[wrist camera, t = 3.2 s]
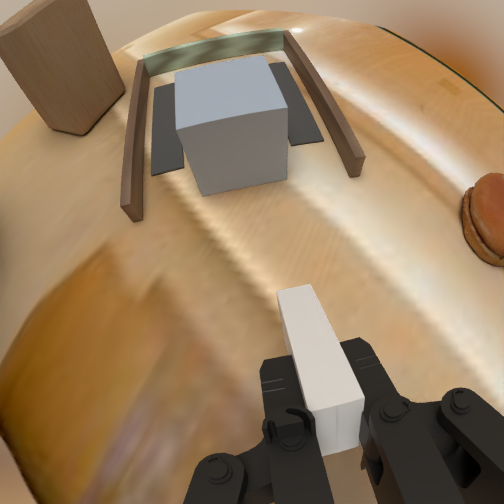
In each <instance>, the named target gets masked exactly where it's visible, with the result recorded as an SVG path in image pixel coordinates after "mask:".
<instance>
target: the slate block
mask: <svg viewBox="0 0 504 504" xmlns="http://www.w3.org/2000/svg"><path fill="white" fill-rule="evenodd" d="M175 116H176V131H177V134H178V136H179V139H180V141H181V144H182V147H183V149H184V152H185V154H186V157H187V159H188V162H189V164H190V167H191V169H192V172H193V174H194V177H195V179H196V182H197V184H198V187H199V189H200V192H201V194H202V197H203V196H208V195H212V194H217V193H222V192H226V191H231V190H236V189H240V188H245V187H250V186H255V185H260V184H266V183H271V182H276V181H281V180H287V143H288V107H287V104H286V102H285V100H284V98H283V95H282V93H281V91H280V89H279V86H278V84H277V82H276V80H275V78H274V76H273V74H272V71H271V69H270V67H269V65H268V63H267V61H266V59H265V57H264V55H262V56H255V57H248V58H242V59H236V60H230V61H225V62H220V63H215V64H210V65H205V66H201V67H196V68H192V69H188V70H184V71H180V72H176V73H175Z"/></svg>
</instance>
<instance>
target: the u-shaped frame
mask: <svg viewBox="0 0 504 504" xmlns="http://www.w3.org/2000/svg"><path fill="white" fill-rule="evenodd" d="M277 50H284V51H285V53H286V54H287V56H288V58H289V59H290V61H291V63H292V64H293V66H294V68H295V70H296V71H297V73H298V75H299V77H300V78H301V80H302V82H303V84H304V85H305V87H306V89H307V91H308V93H309V95H310V96H311V98H312V100H313V102H314V104H315V106H316V108H317V110H318V112H319V113H320V115H321V117H322V119H323V121H324V123H325V125H326V127H327V129H328V131H329V133H330V135H331V138H332V140H333V142H334V144H335V146H336V148H337V150H338V152H339V154H340V157H341V159H342V161H343V163H344V165H345V168H346V170H347V172H348V175H349V177H356V176H359V175H360V172H361V169H362V166H363V163H364V160H365V157H366V156H365V154H364V152H363V150H362V148H361V146H360V144H359V142H358V140H357V139H356V137H355V135H354V133H353V131H352V129H351V127H350V126H349V124H348V122H347V120H346V118H345V117H344V115H343V113H342V111H341V110H340V108H339V106H338V105H337V103H336V101H335V100H334V98H333V96H332V95H331V93H330V91H329V90H328V88H327V86H326V85H325V83H324V82H323V80H322V79H321V77H320V75H319V74H318V72H317V71H316V69H315V68H314V66H313V65H312V63H311V62H310V60H309V59H308V57H307V56H306V54H305V53H304V52H303V50H302V49H301V47H300V46H299V44H298V43H297V42H296V40H295V39H294V38H293V36H292V35H291V33H290V32H289V31H288V30H286V31H283V30H282V28H277V29H267V30H259V31H251V32H244V33H237V34H231V35H225V36H220V37H215V38H210V39H205V40H200V41H196V42H192V43H187V44H183V45H179V46H176V47H172V48H168V49H165V50H161V51H158V52H154V53H151V54H148V55H145V56H143V59H141V60H138V62H137V67H136V72H135V78H134V83H133V89H132V95H131V101H130V107H129V114H128V122H127V129H126V138H125V147H124V157H123V168H122V181H121V198H120V207H121V208H122V209H123V210H124V212H125V213H126V214H127V215H128V216H129V218H130V219H131V220H132V221H133V222H136V221H140V220H143V159H144V138H145V122H146V109H147V98H148V88H149V78H150V77H151V76H154V75H158V74H161V73H164V72H168V71H172V70H175V69H179V68H183V67H187V66H191V65H195V64H200V63H204V62H209V61H214V60H219V59H224V58H229V57H235V56H241V55H247V54H254V53H261V52H269V51H277Z"/></svg>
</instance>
